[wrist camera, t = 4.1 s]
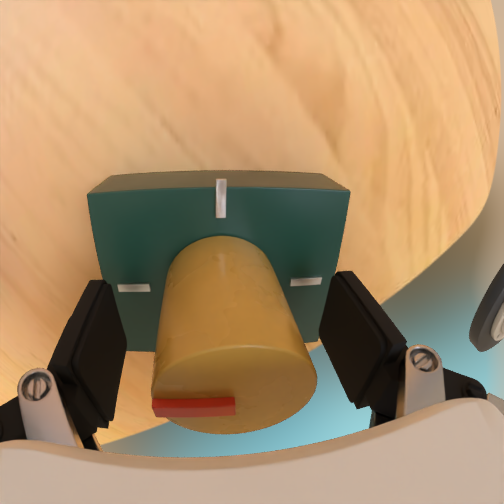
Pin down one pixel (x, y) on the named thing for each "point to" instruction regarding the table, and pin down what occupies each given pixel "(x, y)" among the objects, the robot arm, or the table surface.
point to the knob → (228, 342)
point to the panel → (216, 224)
